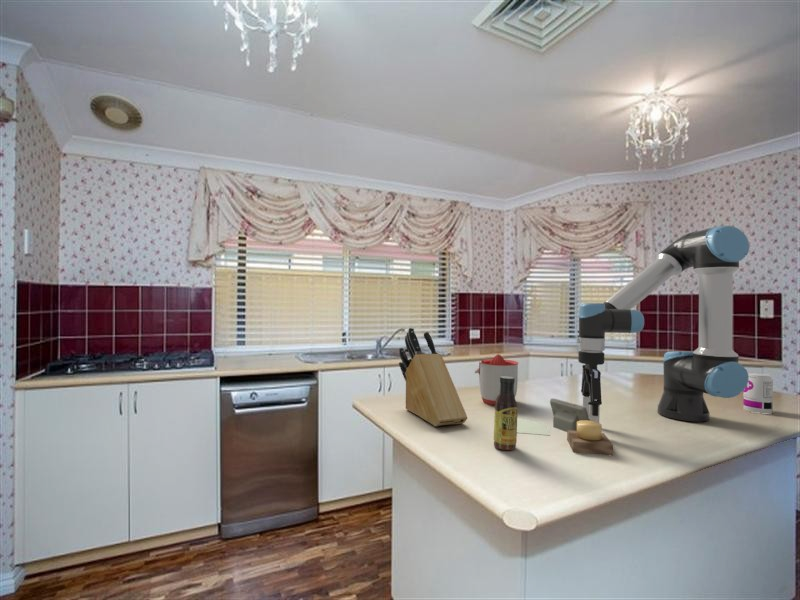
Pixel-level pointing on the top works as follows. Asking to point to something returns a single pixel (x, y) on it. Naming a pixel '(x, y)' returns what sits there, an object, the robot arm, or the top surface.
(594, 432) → the yellow rounded cube
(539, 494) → the top surface
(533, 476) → the top surface
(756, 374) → the supplement can
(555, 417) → the digital clock
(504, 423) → the sauce bottle
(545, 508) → the top surface
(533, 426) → the pad
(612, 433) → the top surface
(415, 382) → the knife block
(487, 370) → the citrus juicer
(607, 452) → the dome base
